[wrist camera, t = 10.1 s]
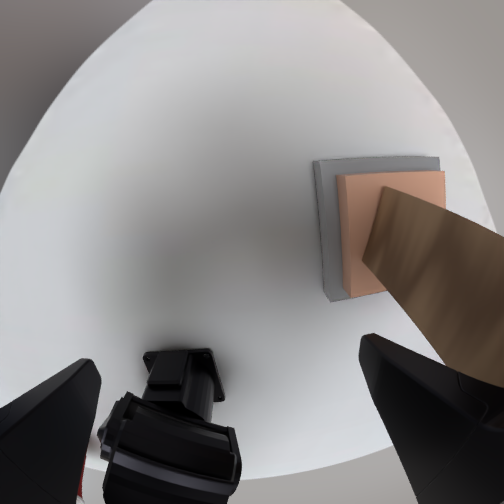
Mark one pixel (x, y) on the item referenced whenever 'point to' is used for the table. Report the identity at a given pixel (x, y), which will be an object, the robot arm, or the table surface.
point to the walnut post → (443, 280)
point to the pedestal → (364, 212)
